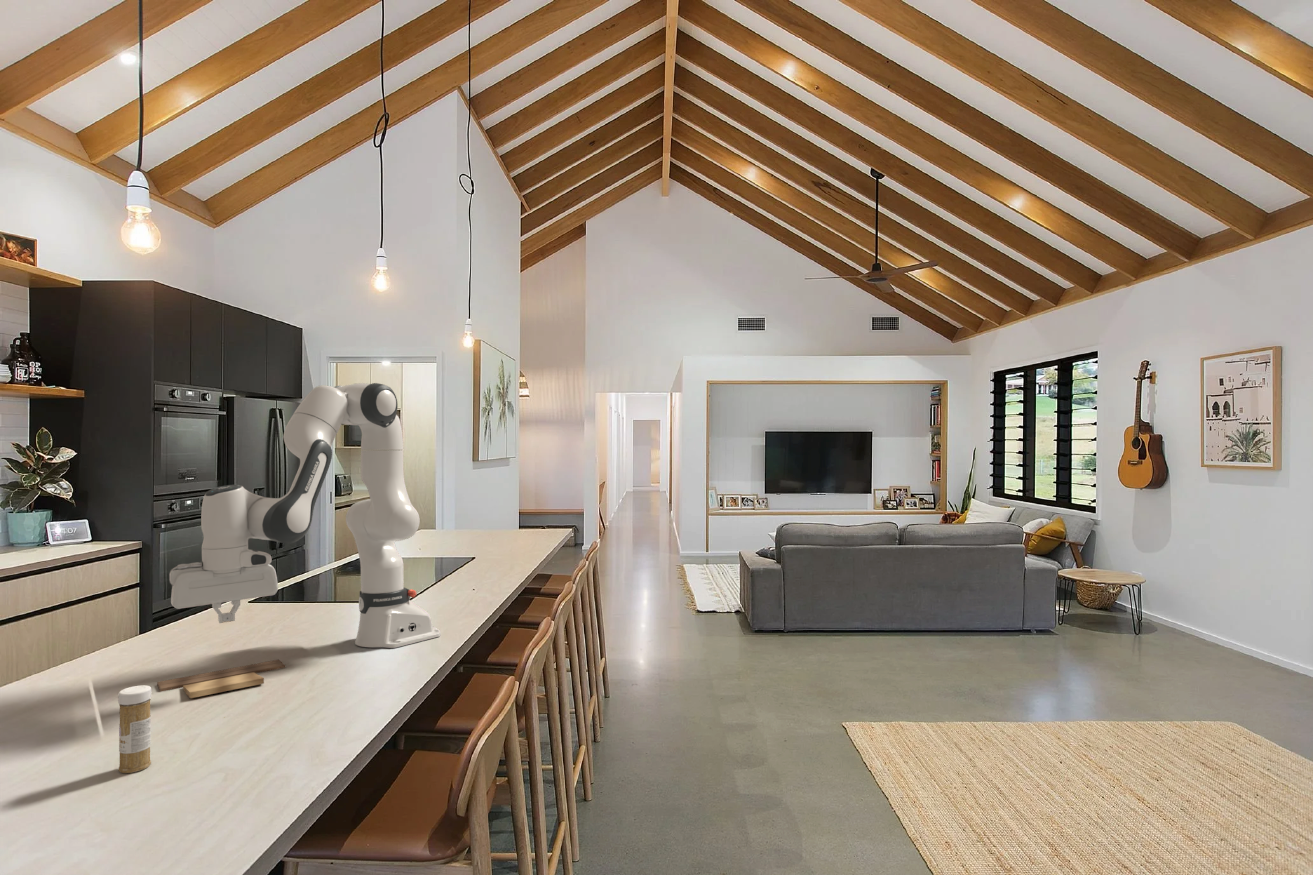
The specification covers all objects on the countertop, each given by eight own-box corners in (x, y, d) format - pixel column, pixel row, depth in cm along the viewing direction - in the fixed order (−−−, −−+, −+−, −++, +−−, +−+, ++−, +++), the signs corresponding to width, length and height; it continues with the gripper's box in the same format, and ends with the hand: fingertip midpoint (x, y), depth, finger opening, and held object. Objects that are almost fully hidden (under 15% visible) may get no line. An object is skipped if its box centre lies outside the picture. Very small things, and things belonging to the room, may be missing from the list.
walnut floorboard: (278, 664, 179) (278, 659, 179) (285, 669, 174) (285, 664, 174) (157, 687, 163) (157, 681, 163) (160, 694, 158) (160, 688, 158)
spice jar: (115, 768, 122) (114, 689, 122) (147, 759, 125) (146, 682, 125) (122, 776, 119) (122, 695, 119) (155, 767, 122) (155, 688, 123)
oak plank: (253, 677, 169) (253, 672, 169) (263, 683, 162) (263, 677, 162) (183, 691, 160) (182, 685, 160) (190, 698, 152) (190, 692, 152)
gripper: (171, 567, 150) (172, 633, 150) (279, 555, 163) (280, 616, 163) (167, 563, 155) (168, 627, 155) (272, 552, 168) (273, 611, 168)
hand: (226, 621), depth 159 cm, fingers closed
